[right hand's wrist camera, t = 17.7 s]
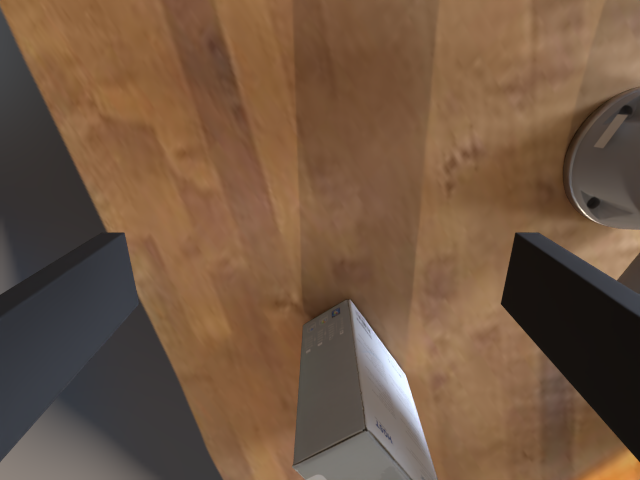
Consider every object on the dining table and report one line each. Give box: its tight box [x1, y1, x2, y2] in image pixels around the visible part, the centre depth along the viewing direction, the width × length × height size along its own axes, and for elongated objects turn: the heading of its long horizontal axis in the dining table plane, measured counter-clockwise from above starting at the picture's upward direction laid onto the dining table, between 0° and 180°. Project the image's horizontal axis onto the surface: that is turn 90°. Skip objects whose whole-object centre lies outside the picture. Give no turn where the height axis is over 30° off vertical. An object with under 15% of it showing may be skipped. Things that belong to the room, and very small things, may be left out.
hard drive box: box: [292, 299, 438, 480], centre depth 41 cm, size 16×8×20 cm, turn 34°
